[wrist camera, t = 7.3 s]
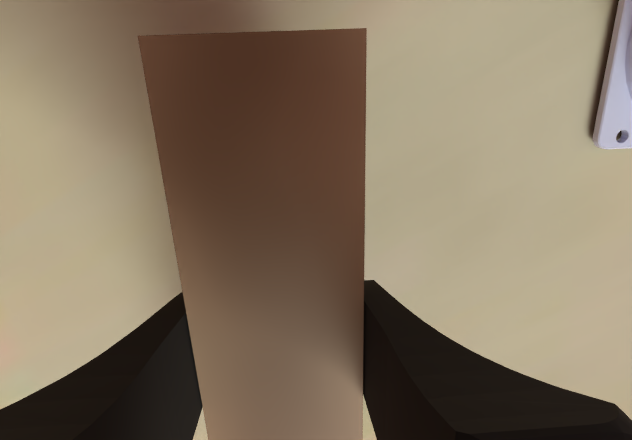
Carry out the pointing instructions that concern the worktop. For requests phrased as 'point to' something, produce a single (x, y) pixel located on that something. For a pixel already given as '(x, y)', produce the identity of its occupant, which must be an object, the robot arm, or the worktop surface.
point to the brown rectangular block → (267, 222)
